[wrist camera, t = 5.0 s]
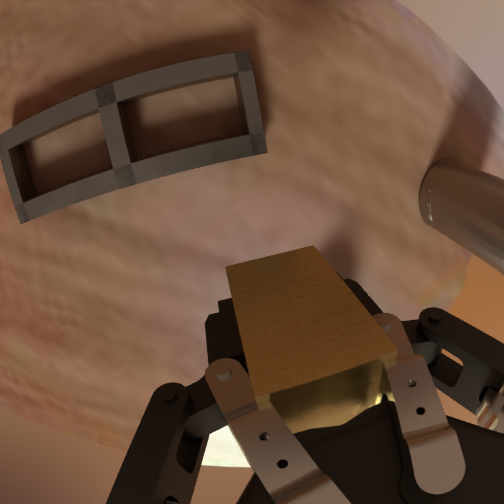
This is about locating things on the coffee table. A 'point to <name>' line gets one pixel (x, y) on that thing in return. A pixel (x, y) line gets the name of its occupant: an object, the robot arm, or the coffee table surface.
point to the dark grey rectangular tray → (120, 138)
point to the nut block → (307, 339)
